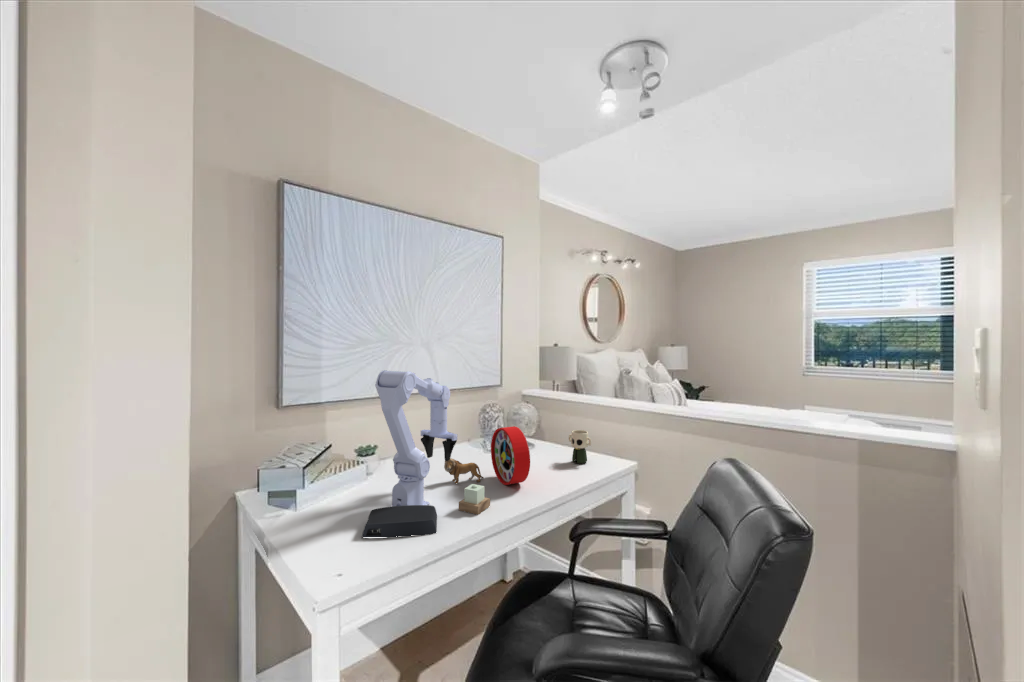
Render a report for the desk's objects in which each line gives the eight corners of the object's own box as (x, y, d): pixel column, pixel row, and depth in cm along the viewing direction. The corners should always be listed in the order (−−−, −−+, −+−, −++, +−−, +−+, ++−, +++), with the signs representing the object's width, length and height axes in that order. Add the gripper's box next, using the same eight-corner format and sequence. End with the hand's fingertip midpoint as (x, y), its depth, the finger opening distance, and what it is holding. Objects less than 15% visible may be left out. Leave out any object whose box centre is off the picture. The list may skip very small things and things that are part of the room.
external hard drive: (369, 520, 120) (369, 506, 120) (437, 515, 123) (437, 501, 123) (360, 542, 107) (360, 526, 107) (436, 536, 111) (436, 521, 110)
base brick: (478, 515, 123) (478, 506, 123) (458, 510, 126) (458, 502, 126) (490, 506, 129) (490, 498, 129) (471, 502, 132) (471, 494, 132)
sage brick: (477, 504, 124) (477, 489, 124) (464, 501, 126) (464, 486, 126) (484, 498, 128) (484, 484, 128) (472, 496, 130) (472, 482, 130)
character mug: (564, 461, 175) (564, 431, 175) (573, 457, 180) (573, 428, 180) (586, 467, 168) (586, 435, 168) (595, 463, 173) (595, 432, 173)
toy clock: (490, 475, 158) (491, 423, 157) (504, 472, 160) (504, 421, 160) (515, 493, 140) (515, 434, 140) (530, 490, 143) (530, 432, 142)
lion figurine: (445, 486, 146) (445, 461, 146) (442, 481, 151) (442, 456, 151) (485, 481, 151) (485, 457, 151) (481, 476, 156) (481, 453, 156)
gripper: (462, 419, 144) (462, 458, 144) (429, 415, 150) (429, 452, 151) (450, 423, 137) (450, 464, 138) (416, 419, 144) (416, 457, 144)
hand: (438, 458), depth 144 cm, fingers open, 7 cm apart
